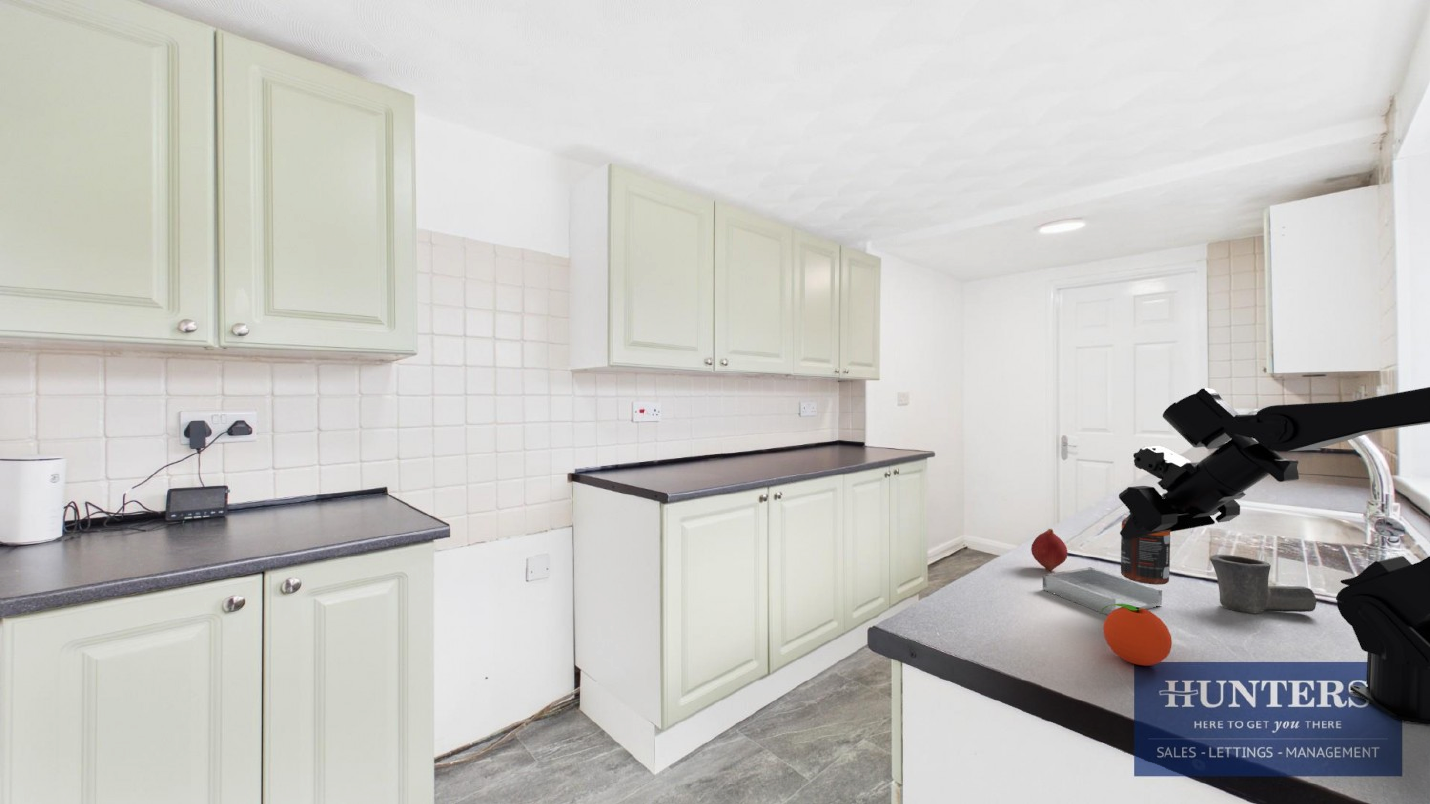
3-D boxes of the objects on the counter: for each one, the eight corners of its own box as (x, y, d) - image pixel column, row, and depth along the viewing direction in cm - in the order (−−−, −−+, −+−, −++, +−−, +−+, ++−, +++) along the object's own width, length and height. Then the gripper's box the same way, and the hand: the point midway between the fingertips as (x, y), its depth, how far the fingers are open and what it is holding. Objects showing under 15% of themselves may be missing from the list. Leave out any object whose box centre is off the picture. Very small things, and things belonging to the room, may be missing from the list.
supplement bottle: (1180, 586, 82) (1182, 510, 82) (1140, 586, 82) (1142, 510, 82) (1148, 572, 88) (1150, 502, 88) (1111, 572, 88) (1112, 502, 88)
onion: (1024, 567, 106) (1025, 526, 106) (1043, 563, 109) (1044, 523, 109) (1053, 577, 101) (1054, 533, 101) (1073, 572, 104) (1074, 530, 103)
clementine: (1082, 651, 73) (1083, 598, 73) (1114, 642, 76) (1116, 590, 75) (1150, 681, 66) (1151, 622, 65) (1183, 669, 68) (1185, 612, 68)
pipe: (1324, 622, 82) (1326, 569, 82) (1223, 614, 85) (1225, 563, 85) (1291, 606, 88) (1293, 557, 88) (1198, 599, 91) (1199, 551, 91)
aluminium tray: (1161, 606, 88) (1162, 590, 88) (1111, 616, 84) (1112, 599, 84) (1089, 581, 99) (1090, 567, 99) (1042, 589, 95) (1042, 574, 95)
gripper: (1217, 427, 84) (1138, 487, 94) (1134, 431, 77) (1059, 495, 88) (1284, 488, 77) (1190, 546, 87) (1199, 497, 70) (1108, 558, 81)
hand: (1136, 534), depth 86 cm, fingers closed on supplement bottle, 6 cm apart
